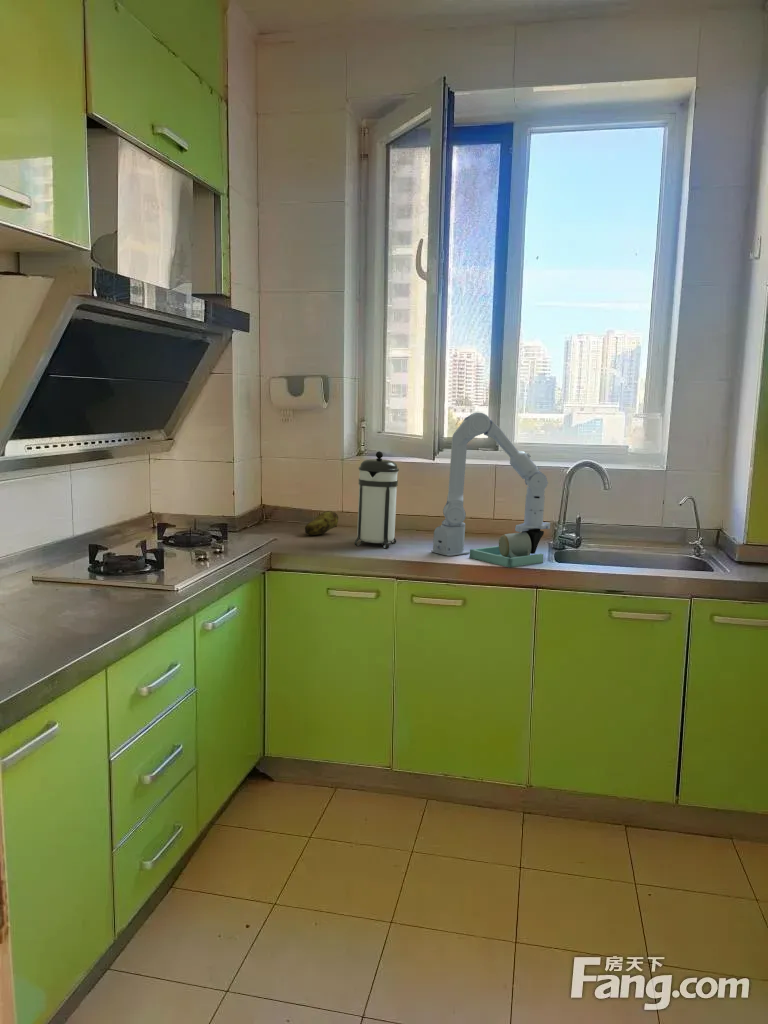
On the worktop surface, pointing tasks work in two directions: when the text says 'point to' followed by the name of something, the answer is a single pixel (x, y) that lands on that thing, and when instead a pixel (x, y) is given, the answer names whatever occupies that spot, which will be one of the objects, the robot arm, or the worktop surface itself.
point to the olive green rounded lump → (322, 523)
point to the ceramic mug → (515, 545)
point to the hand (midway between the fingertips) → (531, 553)
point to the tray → (495, 557)
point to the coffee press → (377, 501)
